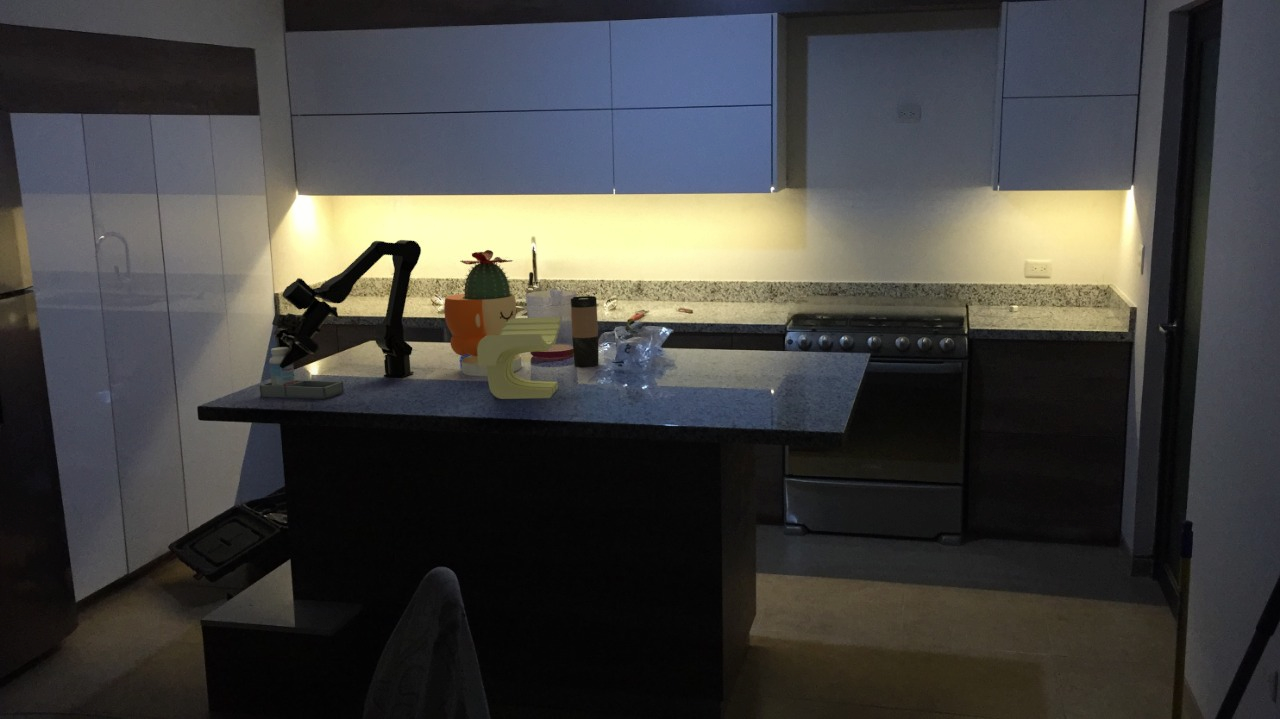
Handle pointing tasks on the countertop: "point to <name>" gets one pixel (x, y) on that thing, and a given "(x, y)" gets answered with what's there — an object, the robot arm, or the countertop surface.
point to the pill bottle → (277, 373)
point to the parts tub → (303, 389)
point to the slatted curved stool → (513, 341)
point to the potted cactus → (480, 310)
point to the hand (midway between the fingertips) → (276, 365)
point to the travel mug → (584, 331)
